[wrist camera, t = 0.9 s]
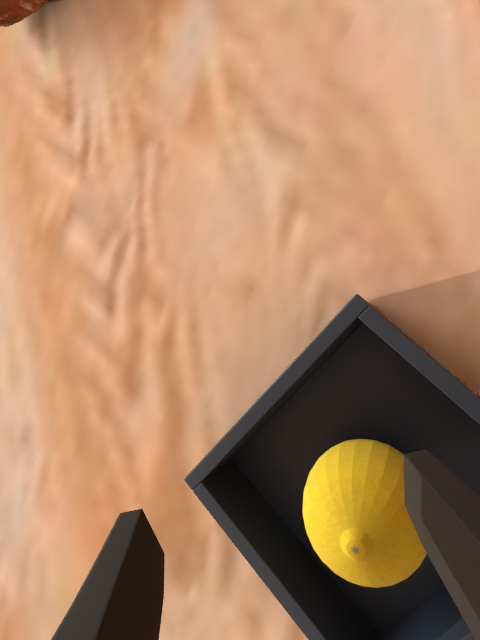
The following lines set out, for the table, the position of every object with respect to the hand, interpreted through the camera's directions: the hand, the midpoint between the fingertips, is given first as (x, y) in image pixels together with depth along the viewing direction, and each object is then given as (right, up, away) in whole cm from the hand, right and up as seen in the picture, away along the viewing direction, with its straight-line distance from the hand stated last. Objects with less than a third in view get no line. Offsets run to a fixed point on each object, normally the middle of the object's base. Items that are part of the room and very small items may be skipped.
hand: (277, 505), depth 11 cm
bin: (+6, -3, +11) cm, 13 cm away
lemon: (+6, -3, +11) cm, 13 cm away
